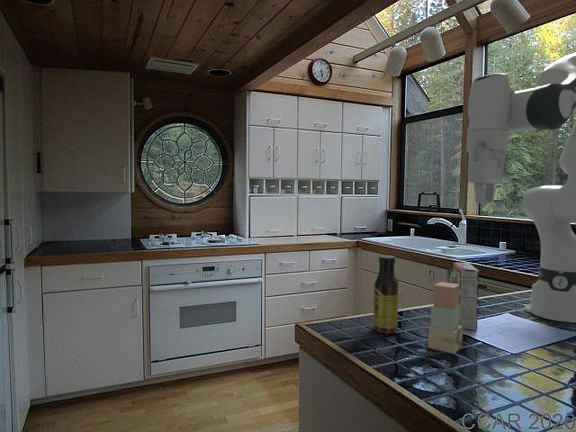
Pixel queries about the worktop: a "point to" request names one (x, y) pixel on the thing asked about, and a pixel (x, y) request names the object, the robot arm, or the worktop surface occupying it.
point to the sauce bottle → (386, 297)
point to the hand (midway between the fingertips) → (484, 203)
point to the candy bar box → (467, 294)
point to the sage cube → (445, 318)
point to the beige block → (445, 339)
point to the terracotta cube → (446, 295)
